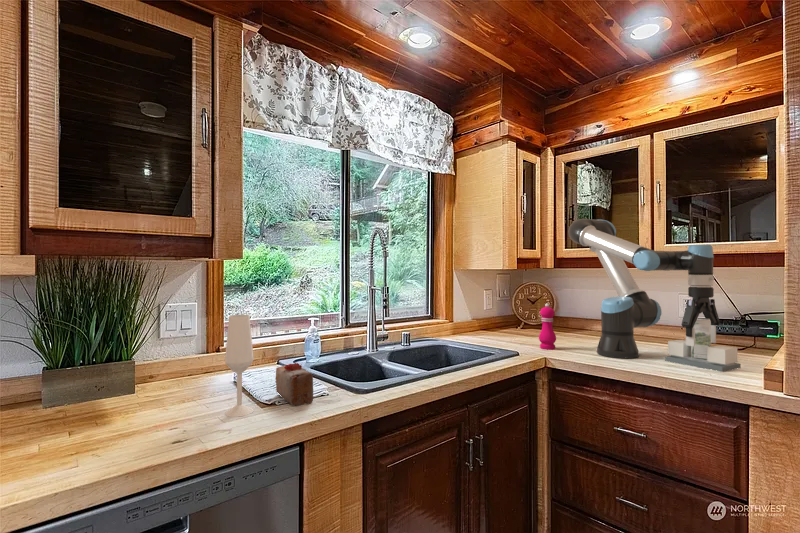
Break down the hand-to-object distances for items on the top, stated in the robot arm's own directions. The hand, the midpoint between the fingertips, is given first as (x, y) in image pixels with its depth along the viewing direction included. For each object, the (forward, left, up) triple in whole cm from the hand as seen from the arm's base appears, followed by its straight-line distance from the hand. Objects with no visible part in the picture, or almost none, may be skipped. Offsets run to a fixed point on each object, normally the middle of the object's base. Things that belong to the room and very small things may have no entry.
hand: (701, 344), depth 151 cm
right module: (+7, 0, -5) cm, 8 cm away
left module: (-7, 0, -5) cm, 8 cm away
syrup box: (0, 0, -5) cm, 5 cm away
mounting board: (0, 0, -7) cm, 7 cm away
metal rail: (0, 0, -6) cm, 6 cm away
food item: (-28, -142, -8) cm, 145 cm away
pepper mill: (-48, -27, -8) cm, 56 cm away
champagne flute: (-24, -157, -8) cm, 159 cm away
